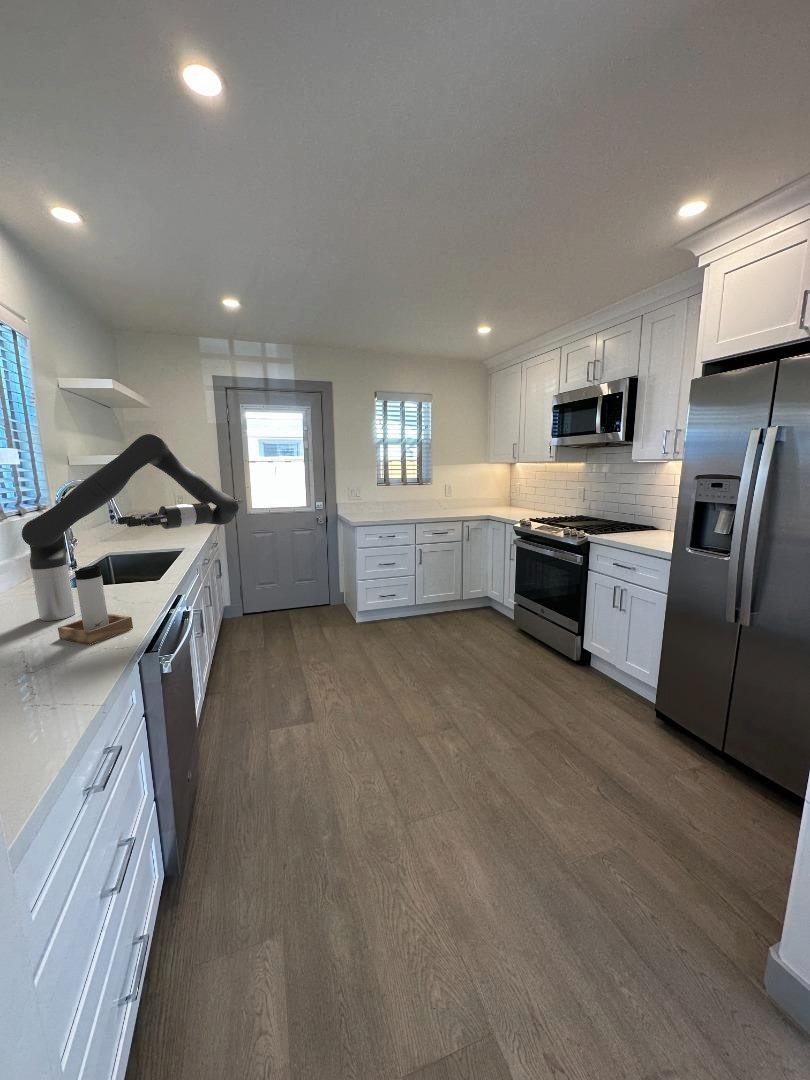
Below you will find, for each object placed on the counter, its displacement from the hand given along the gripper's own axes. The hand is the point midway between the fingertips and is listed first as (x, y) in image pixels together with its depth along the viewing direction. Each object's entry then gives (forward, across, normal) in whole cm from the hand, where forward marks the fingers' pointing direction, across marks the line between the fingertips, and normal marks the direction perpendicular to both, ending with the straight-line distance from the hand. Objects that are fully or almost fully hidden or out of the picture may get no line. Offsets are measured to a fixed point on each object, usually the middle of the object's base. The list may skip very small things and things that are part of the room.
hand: (122, 522), depth 134 cm
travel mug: (+11, 0, +32) cm, 33 cm away
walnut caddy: (+11, 0, +32) cm, 34 cm away
